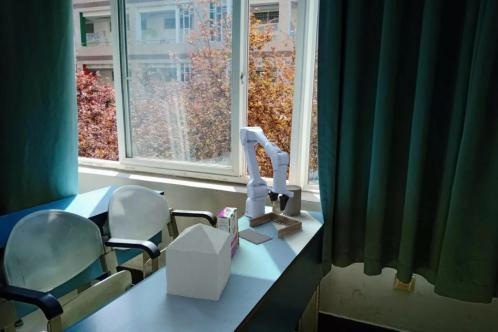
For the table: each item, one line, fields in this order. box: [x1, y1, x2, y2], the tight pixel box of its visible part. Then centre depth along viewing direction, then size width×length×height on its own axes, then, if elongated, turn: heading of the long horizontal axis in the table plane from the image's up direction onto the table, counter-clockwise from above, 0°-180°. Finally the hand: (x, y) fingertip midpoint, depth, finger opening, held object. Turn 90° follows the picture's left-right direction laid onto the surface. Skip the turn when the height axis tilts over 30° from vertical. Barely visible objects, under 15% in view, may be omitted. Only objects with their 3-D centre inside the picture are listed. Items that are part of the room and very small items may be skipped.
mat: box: [238, 228, 273, 245], centre depth 146 cm, size 14×9×1 cm, turn 45°
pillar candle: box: [282, 184, 302, 217], centre depth 175 cm, size 10×10×15 cm
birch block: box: [271, 199, 285, 215], centre depth 156 cm, size 4×4×5 cm
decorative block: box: [165, 222, 232, 302], centre depth 107 cm, size 16×16×20 cm
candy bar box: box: [216, 206, 238, 259], centre depth 129 cm, size 11×5×16 cm, turn 168°
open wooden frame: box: [249, 211, 303, 239], centre depth 156 cm, size 18×15×4 cm
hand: (278, 209), depth 156 cm, fingers closed on birch block, 4 cm apart
